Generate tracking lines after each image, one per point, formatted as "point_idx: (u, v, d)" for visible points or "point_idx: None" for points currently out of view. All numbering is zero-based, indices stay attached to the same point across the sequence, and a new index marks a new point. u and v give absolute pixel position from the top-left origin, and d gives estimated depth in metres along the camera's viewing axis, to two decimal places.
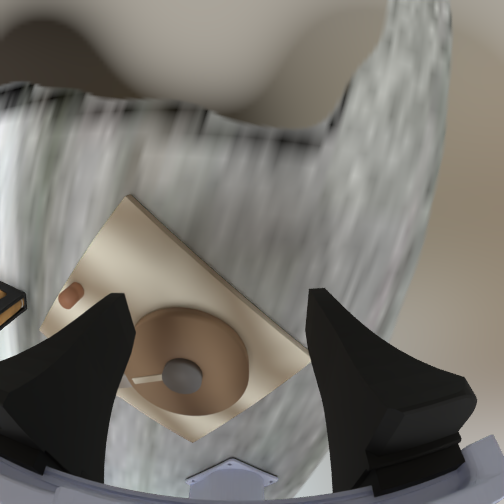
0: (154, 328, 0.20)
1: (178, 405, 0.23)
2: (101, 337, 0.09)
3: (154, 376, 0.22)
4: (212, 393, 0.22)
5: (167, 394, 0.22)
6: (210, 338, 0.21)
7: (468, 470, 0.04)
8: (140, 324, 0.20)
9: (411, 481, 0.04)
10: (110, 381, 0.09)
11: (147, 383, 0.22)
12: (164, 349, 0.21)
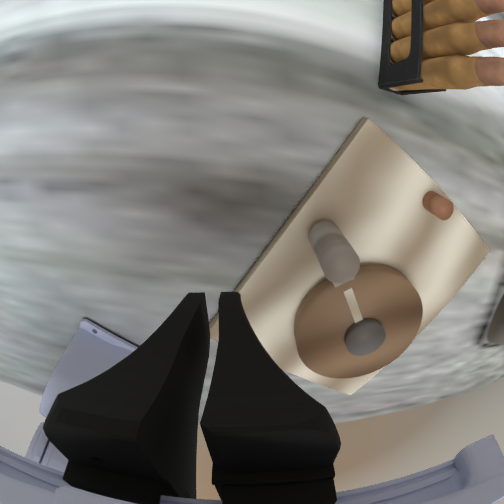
0: (414, 304, 0.20)
1: (313, 336, 0.21)
2: (193, 341, 0.09)
3: (359, 311, 0.20)
4: (336, 358, 0.22)
5: (331, 324, 0.20)
6: (400, 345, 0.22)
7: (468, 470, 0.04)
8: None
9: None
10: (197, 387, 0.09)
11: (346, 304, 0.19)
12: (392, 315, 0.20)
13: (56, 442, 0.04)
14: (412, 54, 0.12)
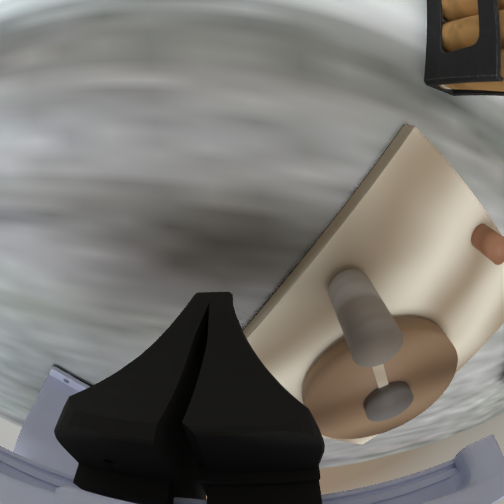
0: (448, 361, 0.14)
1: (326, 404, 0.15)
2: (202, 341, 0.09)
3: (385, 376, 0.14)
4: (352, 422, 0.16)
5: (349, 391, 0.15)
6: (426, 402, 0.16)
7: (468, 470, 0.04)
8: None
9: None
10: None
11: (370, 371, 0.14)
12: (422, 375, 0.15)
13: (67, 446, 0.04)
14: (482, 40, 0.06)
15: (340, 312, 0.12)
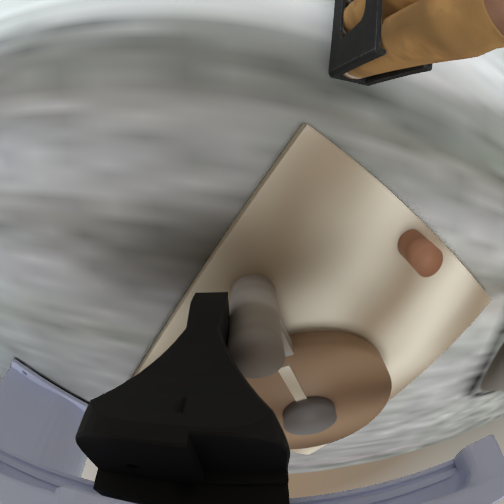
0: (379, 382, 0.15)
1: None
2: None
3: (301, 390, 0.14)
4: None
5: (263, 400, 0.15)
6: (359, 421, 0.16)
7: (468, 470, 0.04)
8: (384, 365, 0.14)
9: None
10: None
11: (282, 382, 0.14)
12: (348, 393, 0.15)
13: (89, 451, 0.04)
14: (369, 12, 0.06)
15: None
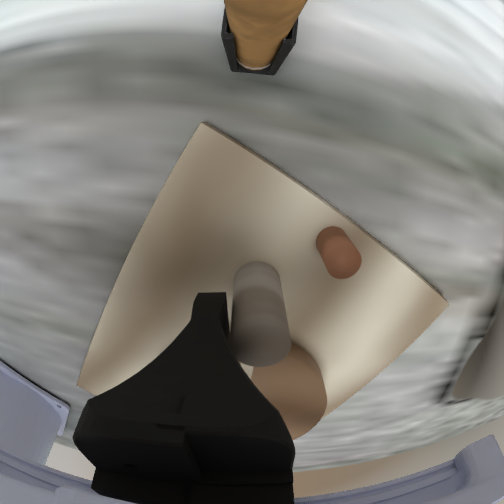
0: (314, 410, 0.16)
1: None
2: None
3: None
4: None
5: None
6: None
7: (468, 470, 0.04)
8: None
9: None
10: None
11: None
12: (282, 410, 0.15)
13: (86, 451, 0.04)
14: None
15: (238, 294, 0.11)
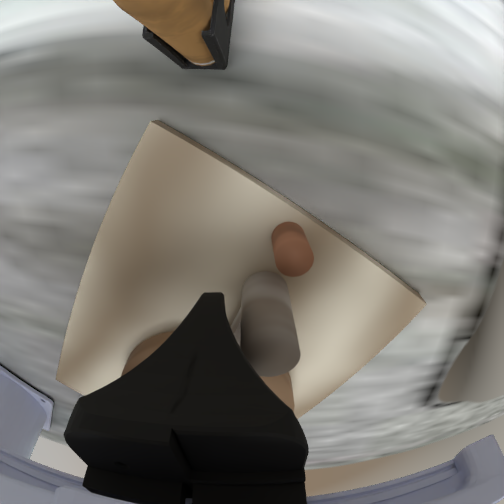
0: None
1: None
2: None
3: None
4: None
5: None
6: None
7: (468, 470, 0.04)
8: None
9: None
10: None
11: None
12: None
13: (77, 448, 0.04)
14: None
15: (254, 301, 0.11)
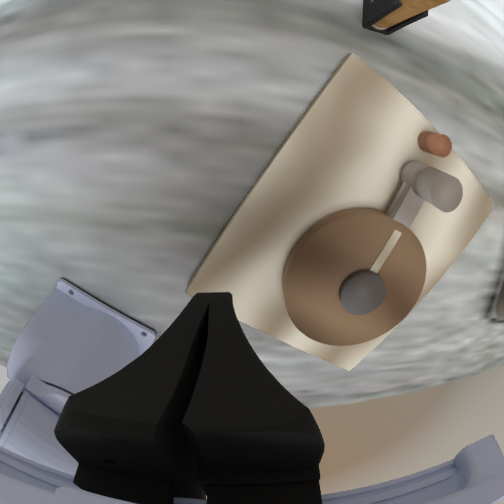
0: (409, 302, 0.20)
1: (332, 246, 0.18)
2: (202, 341, 0.09)
3: (383, 261, 0.18)
4: (316, 294, 0.19)
5: (355, 250, 0.18)
6: (363, 333, 0.21)
7: (468, 470, 0.04)
8: None
9: None
10: None
11: (383, 243, 0.17)
12: (391, 294, 0.19)
13: (67, 445, 0.04)
14: None
15: (426, 168, 0.15)
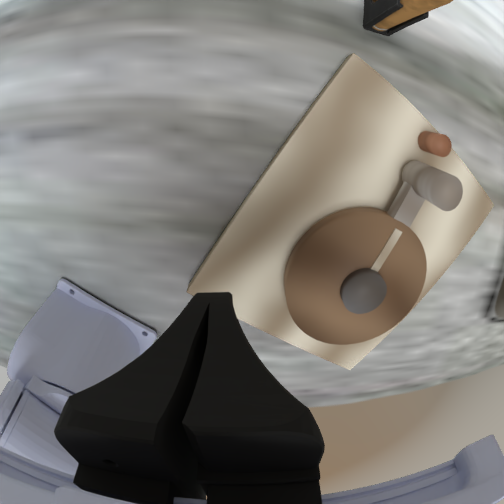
0: (409, 301, 0.20)
1: (333, 245, 0.18)
2: (202, 341, 0.09)
3: (384, 260, 0.18)
4: (318, 293, 0.19)
5: (356, 249, 0.18)
6: (364, 332, 0.21)
7: (468, 470, 0.04)
8: None
9: None
10: None
11: (384, 242, 0.18)
12: (392, 293, 0.19)
13: (67, 445, 0.04)
14: None
15: (426, 168, 0.15)
